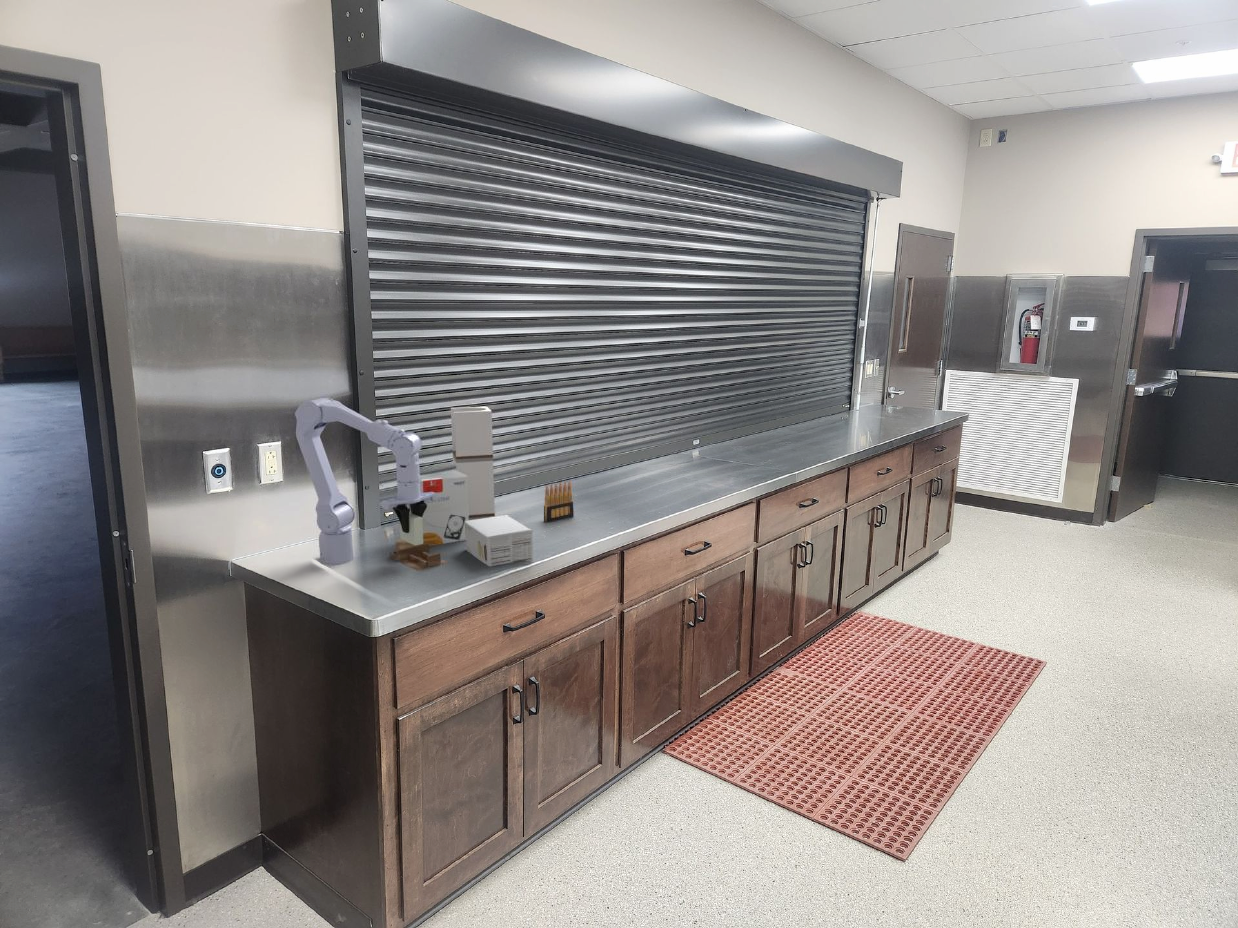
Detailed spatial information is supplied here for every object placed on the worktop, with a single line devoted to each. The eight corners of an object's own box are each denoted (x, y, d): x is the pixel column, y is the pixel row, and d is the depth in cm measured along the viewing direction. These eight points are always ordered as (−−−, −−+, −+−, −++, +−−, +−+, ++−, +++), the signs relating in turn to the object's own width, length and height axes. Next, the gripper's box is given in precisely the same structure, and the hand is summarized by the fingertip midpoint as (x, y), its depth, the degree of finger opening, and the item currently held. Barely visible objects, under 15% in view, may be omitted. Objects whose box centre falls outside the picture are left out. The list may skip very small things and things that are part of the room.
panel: (400, 538, 211) (399, 513, 209) (408, 537, 212) (407, 511, 211) (415, 545, 205) (413, 519, 204) (423, 543, 207) (422, 517, 206)
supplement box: (464, 552, 222) (463, 520, 221) (508, 545, 229) (507, 514, 227) (488, 570, 208) (486, 536, 206) (533, 561, 215) (533, 528, 213)
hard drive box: (418, 550, 224) (414, 481, 220) (409, 543, 230) (406, 476, 226) (470, 541, 232) (468, 475, 228) (461, 535, 238) (458, 470, 234)
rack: (389, 559, 216) (389, 546, 215) (419, 552, 222) (418, 539, 221) (418, 573, 205) (417, 559, 205) (448, 565, 211) (447, 551, 211)
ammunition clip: (547, 522, 252) (546, 485, 249) (543, 521, 253) (542, 484, 251) (573, 516, 259) (573, 480, 256) (570, 515, 260) (570, 479, 257)
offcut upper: (396, 548, 216) (395, 541, 215) (415, 543, 220) (414, 536, 219) (402, 551, 213) (402, 543, 213) (421, 546, 218) (421, 538, 217)
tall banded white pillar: (489, 510, 265) (486, 406, 258) (495, 519, 255) (491, 411, 248) (455, 513, 262) (450, 408, 255) (458, 522, 252) (454, 412, 245)
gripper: (390, 487, 198) (393, 539, 201) (441, 478, 208) (443, 528, 211) (376, 482, 203) (379, 533, 206) (427, 474, 213) (429, 523, 216)
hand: (410, 530), depth 208 cm, fingers closed on panel, 2 cm apart
